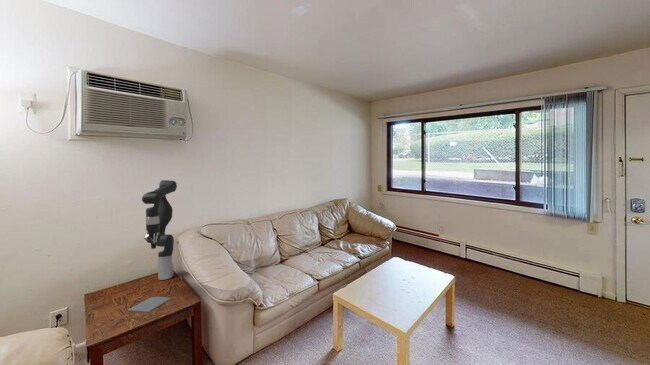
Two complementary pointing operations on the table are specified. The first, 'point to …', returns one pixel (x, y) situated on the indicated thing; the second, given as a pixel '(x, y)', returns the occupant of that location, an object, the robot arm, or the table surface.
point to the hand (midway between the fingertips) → (153, 248)
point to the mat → (149, 304)
